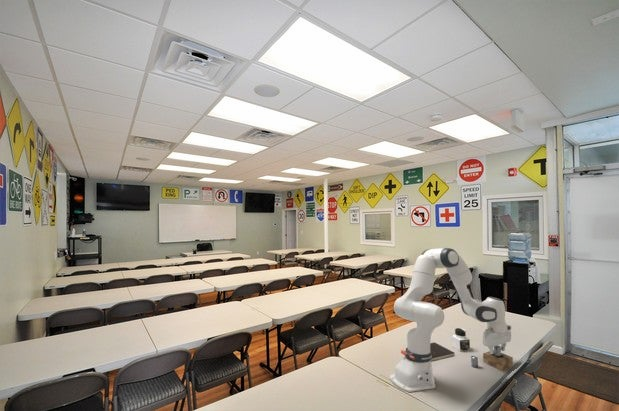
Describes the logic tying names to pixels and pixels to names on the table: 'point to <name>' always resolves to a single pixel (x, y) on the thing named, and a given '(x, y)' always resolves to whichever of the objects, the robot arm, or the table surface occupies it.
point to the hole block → (498, 361)
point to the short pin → (474, 361)
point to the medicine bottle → (460, 340)
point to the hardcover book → (439, 351)
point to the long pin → (497, 351)
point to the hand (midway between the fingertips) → (497, 351)
